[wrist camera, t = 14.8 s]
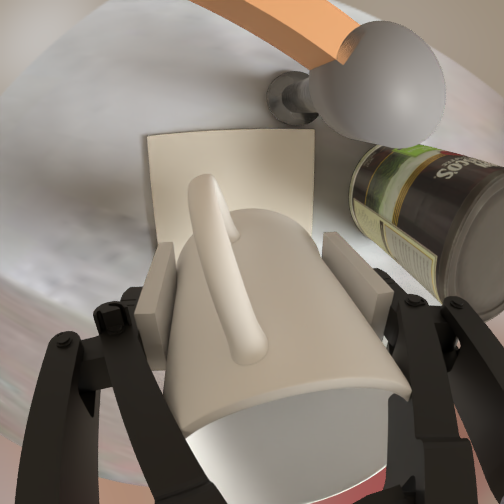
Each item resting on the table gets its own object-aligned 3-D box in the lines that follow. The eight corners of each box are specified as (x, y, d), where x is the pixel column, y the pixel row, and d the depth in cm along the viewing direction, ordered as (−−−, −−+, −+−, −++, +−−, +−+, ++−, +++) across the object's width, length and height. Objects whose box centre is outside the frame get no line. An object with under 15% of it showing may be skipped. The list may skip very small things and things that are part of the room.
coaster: (165, 284, 28) (164, 287, 28) (148, 135, 23) (147, 136, 22) (307, 273, 30) (308, 276, 29) (312, 129, 24) (314, 129, 24)
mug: (137, 172, 15) (8, 292, 4) (299, 132, 16) (469, 178, 5) (200, 349, 20) (205, 523, 9) (326, 317, 20) (406, 472, 10)
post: (267, 125, 24) (312, 131, 13) (266, 71, 22) (311, 37, 11) (320, 125, 24) (396, 136, 14) (320, 74, 22) (396, 52, 12)
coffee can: (347, 137, 25) (462, 166, 12) (439, 141, 26) (554, 175, 13) (344, 249, 29) (427, 343, 16) (430, 239, 30) (523, 308, 17)
